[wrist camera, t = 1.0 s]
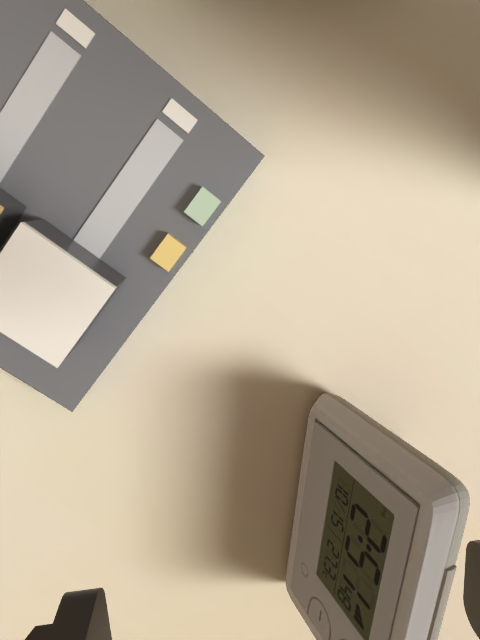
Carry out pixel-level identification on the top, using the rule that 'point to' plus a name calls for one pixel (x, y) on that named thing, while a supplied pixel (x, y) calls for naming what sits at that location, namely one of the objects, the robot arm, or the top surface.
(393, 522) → the digital clock
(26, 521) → the top surface
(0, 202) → the block
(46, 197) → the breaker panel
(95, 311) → the block
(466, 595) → the robot arm
